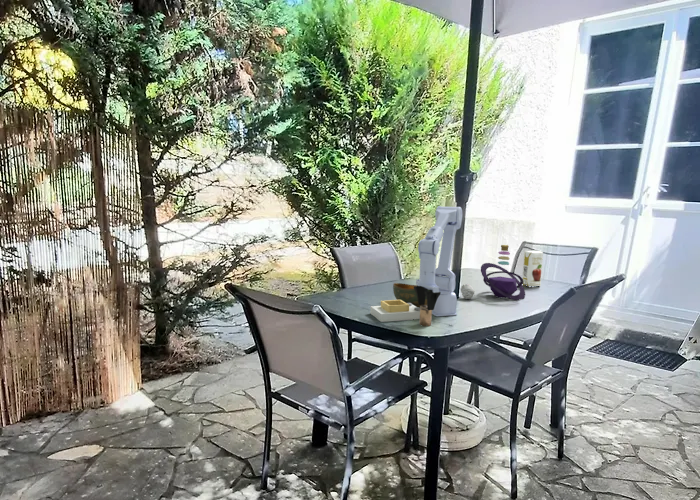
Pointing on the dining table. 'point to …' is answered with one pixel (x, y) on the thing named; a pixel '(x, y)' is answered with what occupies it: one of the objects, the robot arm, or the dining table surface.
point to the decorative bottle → (503, 279)
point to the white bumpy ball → (467, 291)
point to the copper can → (425, 316)
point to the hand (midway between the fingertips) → (425, 307)
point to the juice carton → (532, 268)
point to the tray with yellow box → (395, 311)
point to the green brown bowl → (406, 293)
